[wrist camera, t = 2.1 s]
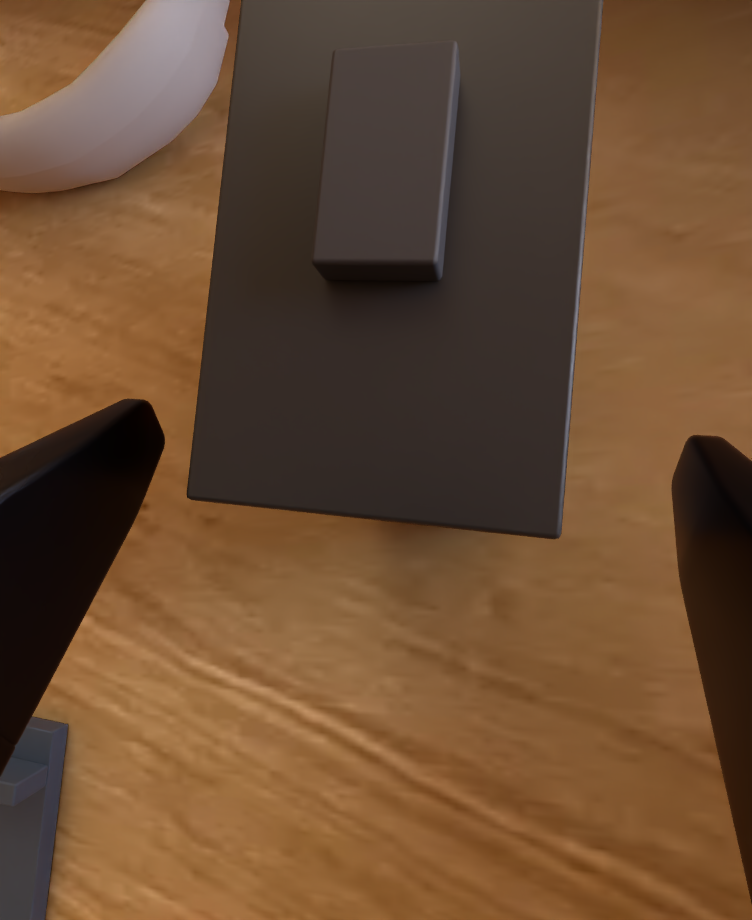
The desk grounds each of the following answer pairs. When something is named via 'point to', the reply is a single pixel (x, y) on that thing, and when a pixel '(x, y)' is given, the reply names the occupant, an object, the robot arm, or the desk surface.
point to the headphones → (119, 101)
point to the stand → (30, 819)
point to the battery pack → (400, 261)
